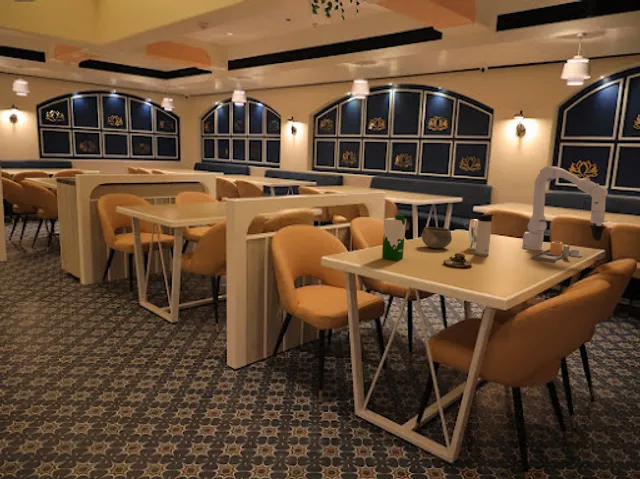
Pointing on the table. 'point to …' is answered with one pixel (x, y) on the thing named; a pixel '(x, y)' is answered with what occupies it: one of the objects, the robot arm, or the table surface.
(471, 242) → the beer glass
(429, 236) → the bowl
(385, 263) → the table surface
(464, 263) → the burger
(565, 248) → the rod
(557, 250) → the block
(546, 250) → the case
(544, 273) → the table surface
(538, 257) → the lid
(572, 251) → the bracket
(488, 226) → the travel mug
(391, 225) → the milk carton
